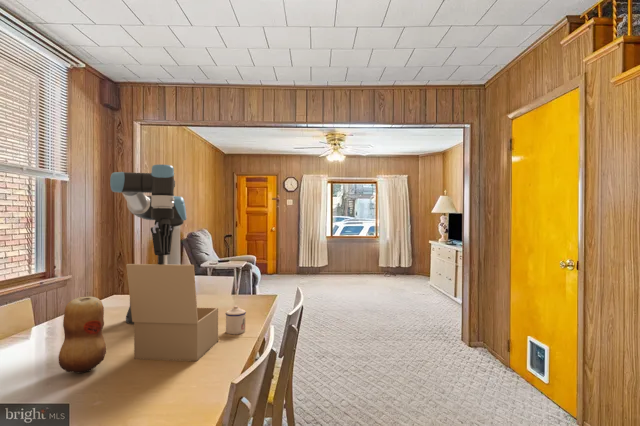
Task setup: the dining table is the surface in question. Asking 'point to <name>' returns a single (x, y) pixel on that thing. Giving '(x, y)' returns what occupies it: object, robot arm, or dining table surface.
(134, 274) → the carton lid
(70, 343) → the butternut squash
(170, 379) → the dining table surface
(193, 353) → the carton
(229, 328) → the teacup with lid
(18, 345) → the dining table surface
